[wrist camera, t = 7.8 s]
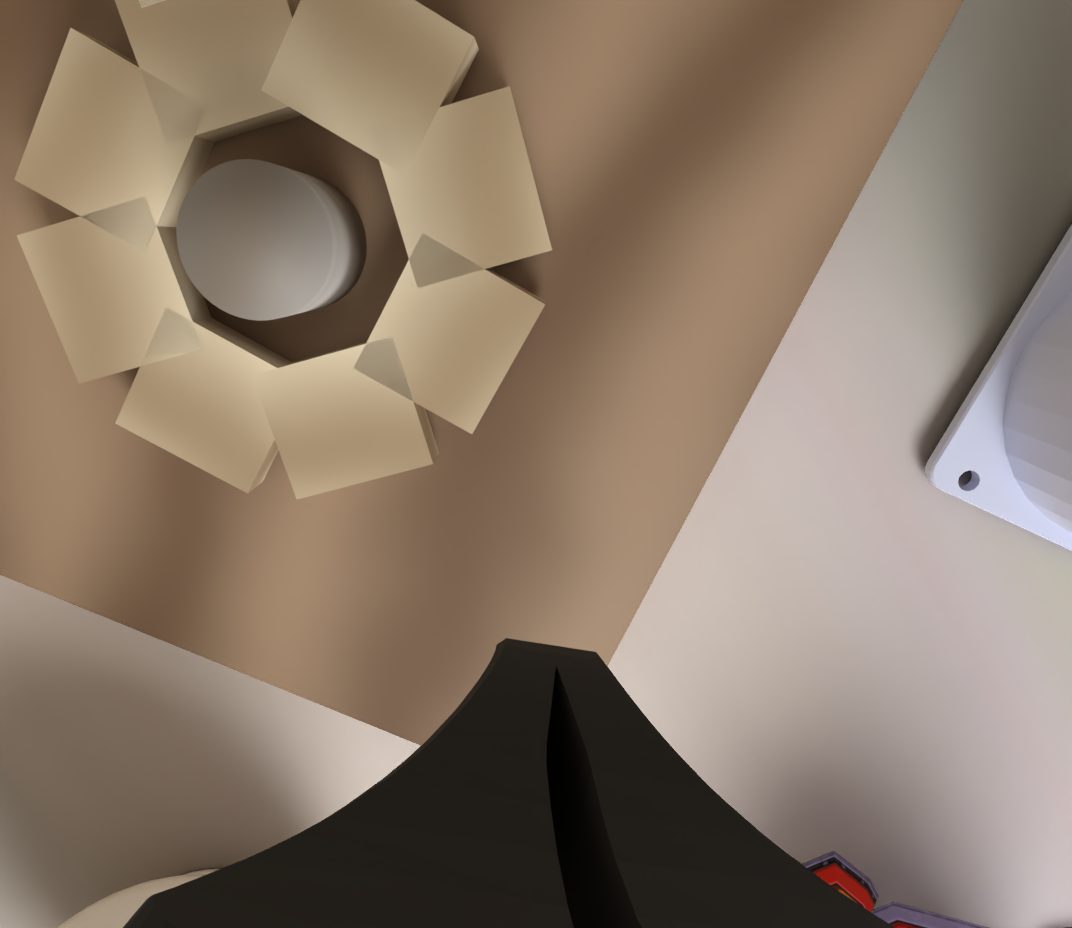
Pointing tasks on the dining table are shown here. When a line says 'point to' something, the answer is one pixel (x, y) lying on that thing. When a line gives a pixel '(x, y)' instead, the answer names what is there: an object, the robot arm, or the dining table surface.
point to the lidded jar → (126, 902)
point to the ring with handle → (177, 162)
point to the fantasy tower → (876, 896)
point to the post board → (529, 385)
